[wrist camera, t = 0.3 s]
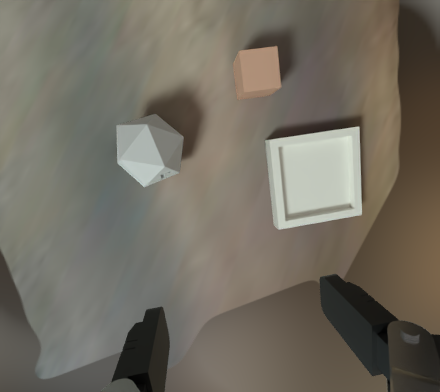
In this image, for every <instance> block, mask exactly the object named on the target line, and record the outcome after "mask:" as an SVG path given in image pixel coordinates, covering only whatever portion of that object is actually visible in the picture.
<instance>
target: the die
mask: <svg viewBox="0 0 440 392" xmlns="http://www.w3.org/2000/svg"><path fill="white" fill-rule="evenodd" d="M183 140H184V137H183V136H182V135H181V134H180V133H178V132H177V131H176V130H175V129H173V128H172V127H171V126H170V125H169V124H167V123H166V122H165V121H164V120H162V119H161V118H160V117H159V116H158V115H156V114H153V115H149V116H146V117H143V118H139V119H136V120H133V121H129V122H126V123H122V124H119V125H117V162H118V164H119V165H120V166H121V167H123V168H124V169H125V170H126V171H127V172H128V173H129V174H130V175H131V176H133V177H134V178H135V179H136V180H137V181H138V182H139V183H140V184H141V185H143V186H144V187H146V186H148V185H151V184H153V183H156V182H158V181H161V180H163V179H165V178H168V177H170V176H173V175H175V174H178V173H180V165H181V157H182V148H183Z"/></svg>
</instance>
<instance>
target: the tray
mask: <svg viewBox="0 0 440 392" xmlns="http://www.w3.org/2000/svg"><path fill="white" fill-rule="evenodd" d="M265 146H266V155H267V165H268V174H269V183H270V193H271V202H272V211H273V221H274V226H275V227H277V228H278V229H279V230H280V229H285V228H291V227H296V226H302V225H308V224H313V223H319V222H324V221H330V220H335V219H341V218H347V217H352V216H358V215H362V198H361V165H360V131H359V127H351V128H344V129H338V130H331V131H325V132H318V133H311V134H305V135H298V136H291V137H285V138H278V139H271V140H265Z"/></svg>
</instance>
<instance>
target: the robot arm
mask: <svg viewBox="0 0 440 392" xmlns="http://www.w3.org/2000/svg"><path fill="white" fill-rule="evenodd" d="M320 294H321V306H322V310H323V312H324V314H325V316H326V317H327V319H328V320H329V321H330V323H331V324H332V325H333V326H334V328H335V329H336V330H337V331H338V333H339V334H340V335H341V337H342V338H343V339H344V341H345V342H346V343H347V344H348V346H349V347H350V348H351V350H352V351H353V352H354V353H355V355H356V356H357V357H358V358H359V360H360V361H361V362H362V364H363V365H364V366H365V368H366V369H367V370H368V371H369V373H370V374H371V375H372V376H375V375H380V374H384V376H385V377H386V378H387V392H440V335H433V334H430V333H429V332H428V331H427V330H426V329H424V328H423V327H421V326H419V325H417V324H414V323H411V322H408V321H399V320H398V319H397V318H396V317H395V316H394V315H392V314H391V313H390V312H389V311H388V310H386V309H385V308H384V307H383V306H382V305H381V304H379V303H378V302H377V301H375V300H374V299H373V298H372V297H371V296H370V295H368V294H367V293H366V292H365V291H364V290H363V289H362V288H360V287H359V286H357V285H354V284H352V283H350V282H347V283H346V282H345V281H344V280H342V279H341V278H340V277H339V276H338V275H337V274H332V275H327V276H322V277H320ZM169 348H170V341H169V332H168V328H167V323H166V319H165V314H164V310H163V307H158V308H152V309H147V310H146V312H145V316H144V319H143V322H139V323H136V324H135V325H134V326H133V327H132V329H131V330H130V331H129V332H128V335H127V338H126V341H125V344H124V347H123V351H122V353H121V356H120V358H119V361H118V364H117V367H116V370H115V373H114V376H113V379H112V382H111V383H110V384H109V385H107V386H106V387H105V388H104V389H103V390H102V391H101V392H164V391H165V382H166V374H167V365H168V357H169Z"/></svg>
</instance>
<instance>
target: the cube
mask: <svg viewBox="0 0 440 392" xmlns="http://www.w3.org/2000/svg"><path fill="white" fill-rule="evenodd" d="M233 68H234V76H235V84H236V92H237V100H241V99H248V98H256V97H263V96H270V95H271V94H273V93H274V92H275V91H277V90H278V89H280V88H281V81H280V70H279V59H278V48H277V46H274V47H266V48H258V49H249V50H241V51H239V52H238V54H237V57H236V59H235V61H234V63H233Z"/></svg>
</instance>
